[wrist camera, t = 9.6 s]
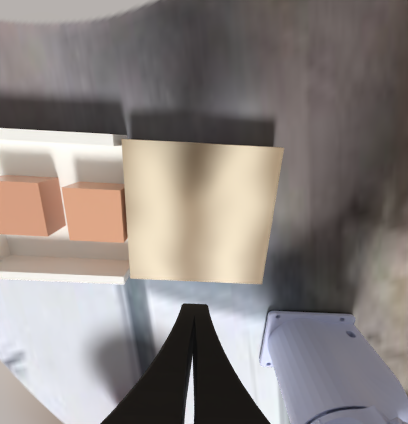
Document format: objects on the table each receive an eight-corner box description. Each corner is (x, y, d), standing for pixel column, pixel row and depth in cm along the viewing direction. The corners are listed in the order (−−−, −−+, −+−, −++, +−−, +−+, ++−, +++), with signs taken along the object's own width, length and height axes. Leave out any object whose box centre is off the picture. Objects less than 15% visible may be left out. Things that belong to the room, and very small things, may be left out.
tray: (127, 135, 18) (112, 134, 15) (134, 265, 22) (124, 284, 19) (-29, 126, 18) (-73, 124, 15) (7, 260, 22) (-23, 278, 19)
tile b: (58, 177, 19) (37, 182, 17) (66, 225, 20) (48, 236, 18) (6, 174, 19) (-22, 179, 17) (17, 223, 20) (-8, 234, 18)
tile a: (130, 184, 19) (120, 190, 17) (133, 230, 21) (123, 242, 18) (79, 181, 19) (61, 187, 17) (85, 228, 21) (69, 240, 18)
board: (273, 146, 19) (283, 147, 16) (255, 268, 22) (261, 284, 20) (131, 139, 18) (121, 138, 16) (138, 263, 22) (130, 278, 20)
